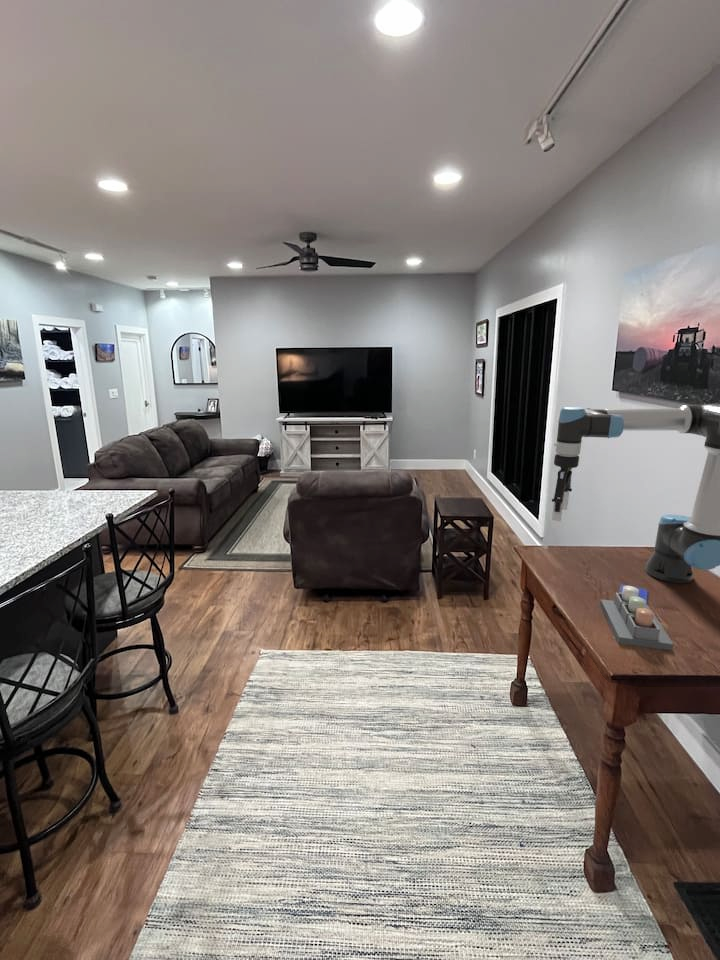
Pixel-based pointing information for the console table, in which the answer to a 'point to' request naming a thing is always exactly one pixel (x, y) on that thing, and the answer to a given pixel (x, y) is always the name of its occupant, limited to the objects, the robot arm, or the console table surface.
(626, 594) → the button ivory
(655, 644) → the button board
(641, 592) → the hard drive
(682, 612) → the console table surface
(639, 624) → the button terracotta
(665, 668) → the console table surface
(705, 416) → the robot arm
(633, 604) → the button sage
